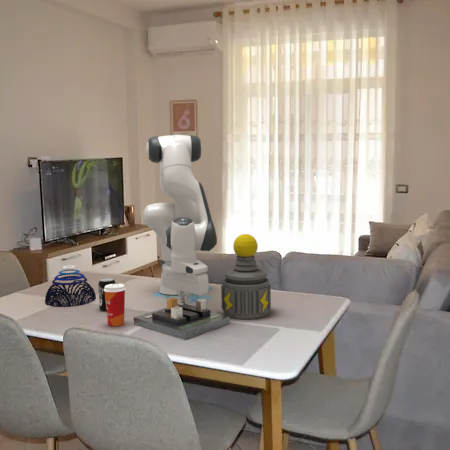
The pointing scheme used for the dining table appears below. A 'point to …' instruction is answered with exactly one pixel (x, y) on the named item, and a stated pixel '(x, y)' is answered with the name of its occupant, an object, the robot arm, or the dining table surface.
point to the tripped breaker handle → (172, 303)
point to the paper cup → (115, 304)
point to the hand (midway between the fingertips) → (184, 303)
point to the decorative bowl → (65, 292)
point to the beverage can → (102, 284)
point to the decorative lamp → (245, 284)
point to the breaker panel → (182, 331)
